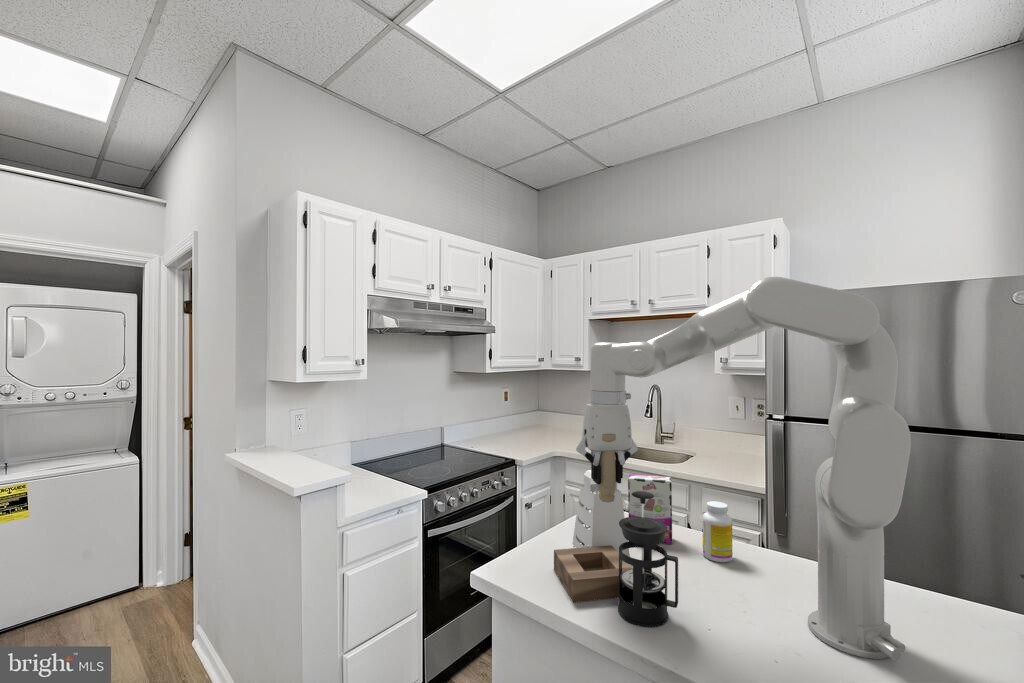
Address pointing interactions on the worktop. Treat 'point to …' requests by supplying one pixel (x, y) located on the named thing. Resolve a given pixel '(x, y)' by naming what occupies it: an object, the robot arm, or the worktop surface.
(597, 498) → the grater
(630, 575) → the french press
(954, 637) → the worktop surface
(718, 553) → the supplement bottle
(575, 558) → the socket block
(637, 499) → the candy bar box
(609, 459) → the handle
